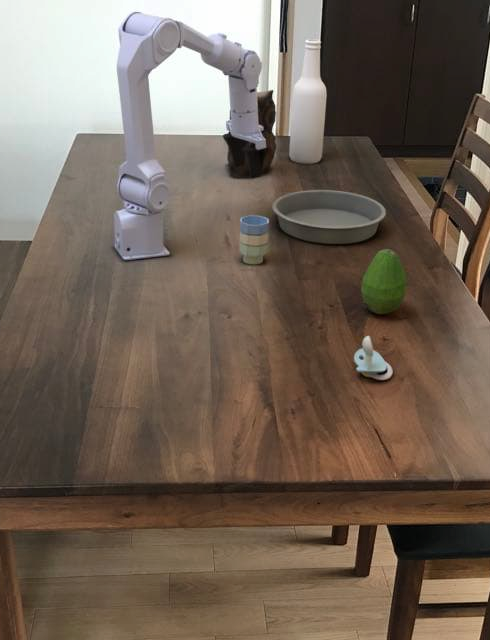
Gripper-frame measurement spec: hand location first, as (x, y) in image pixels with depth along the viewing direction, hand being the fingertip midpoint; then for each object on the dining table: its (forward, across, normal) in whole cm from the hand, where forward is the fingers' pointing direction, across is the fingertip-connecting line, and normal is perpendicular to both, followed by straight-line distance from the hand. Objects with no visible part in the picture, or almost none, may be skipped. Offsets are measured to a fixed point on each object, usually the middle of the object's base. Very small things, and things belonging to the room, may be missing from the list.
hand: (247, 171), depth 193 cm
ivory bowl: (+6, -23, +11) cm, 26 cm away
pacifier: (+6, -71, +15) cm, 72 cm away
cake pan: (+12, -12, -13) cm, 21 cm away
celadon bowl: (+8, -23, +11) cm, 27 cm away
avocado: (+8, -53, +1) cm, 54 cm away
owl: (+14, +31, -15) cm, 37 cm away
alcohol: (+16, +34, -34) cm, 51 cm away
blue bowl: (+4, -23, +11) cm, 25 cm away
